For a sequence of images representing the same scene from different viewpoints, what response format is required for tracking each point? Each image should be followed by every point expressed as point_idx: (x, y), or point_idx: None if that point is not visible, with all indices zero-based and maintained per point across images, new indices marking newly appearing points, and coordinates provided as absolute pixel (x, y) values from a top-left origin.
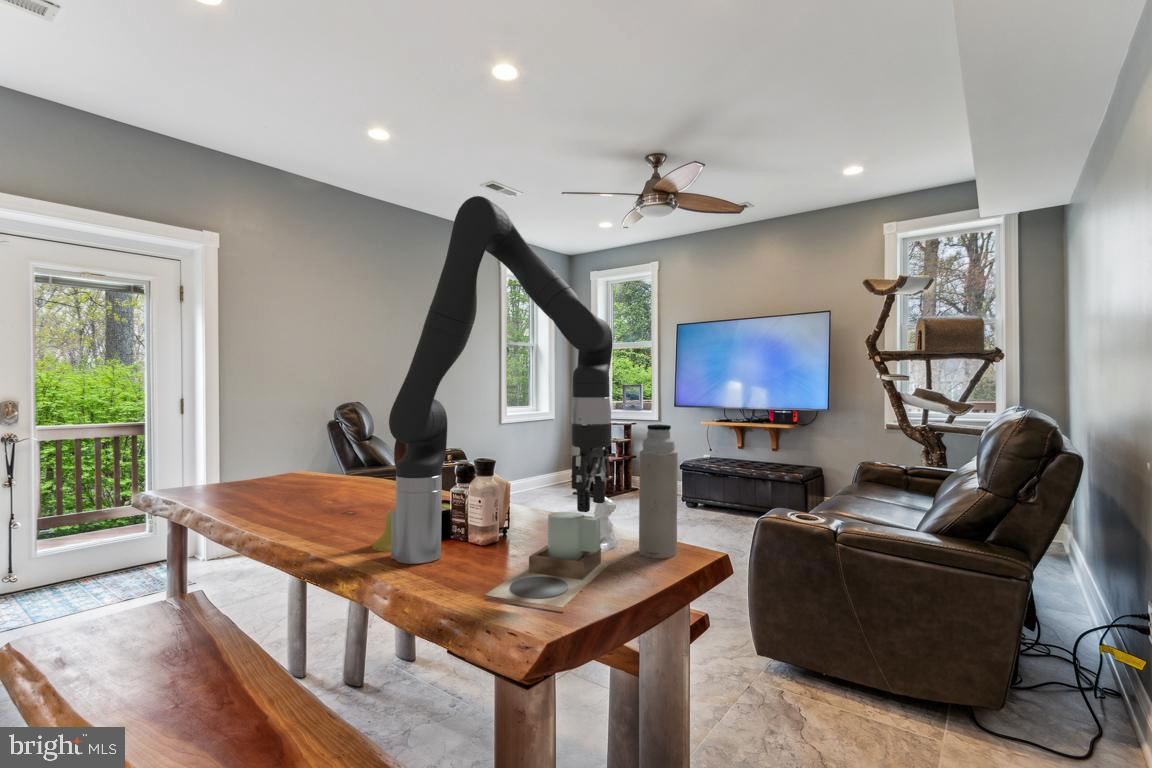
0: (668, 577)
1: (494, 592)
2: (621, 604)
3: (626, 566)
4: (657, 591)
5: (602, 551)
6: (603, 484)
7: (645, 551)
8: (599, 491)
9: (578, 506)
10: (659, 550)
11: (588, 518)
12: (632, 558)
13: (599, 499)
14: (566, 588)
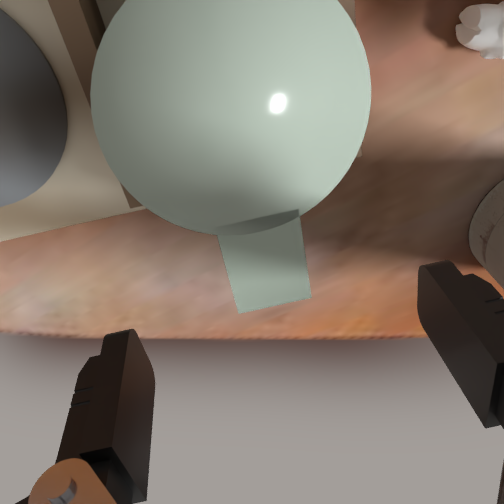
0: (351, 313)
1: None
2: (97, 320)
3: (398, 185)
4: (236, 336)
5: (491, 57)
6: (486, 426)
7: (496, 222)
8: (458, 354)
9: (81, 374)
10: (491, 270)
11: (250, 267)
12: (495, 157)
13: (427, 313)
14: (14, 199)
